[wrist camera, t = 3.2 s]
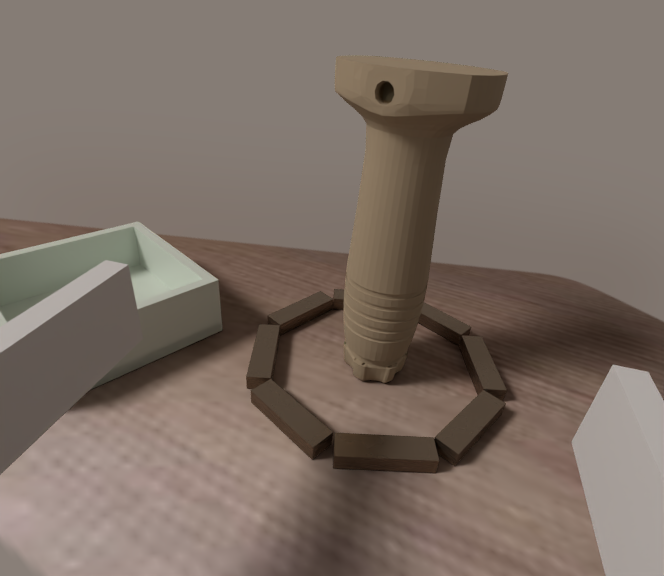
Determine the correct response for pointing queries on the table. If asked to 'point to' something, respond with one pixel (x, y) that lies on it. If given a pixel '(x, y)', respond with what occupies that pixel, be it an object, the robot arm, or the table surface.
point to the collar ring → (367, 447)
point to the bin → (147, 279)
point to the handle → (400, 193)
